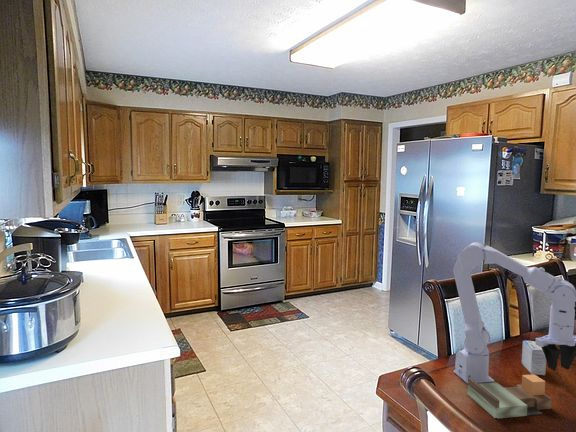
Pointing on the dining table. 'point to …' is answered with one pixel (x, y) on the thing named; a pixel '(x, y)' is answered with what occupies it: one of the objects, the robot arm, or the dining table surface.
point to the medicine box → (533, 358)
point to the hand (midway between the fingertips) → (558, 368)
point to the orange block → (533, 385)
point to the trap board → (507, 400)
